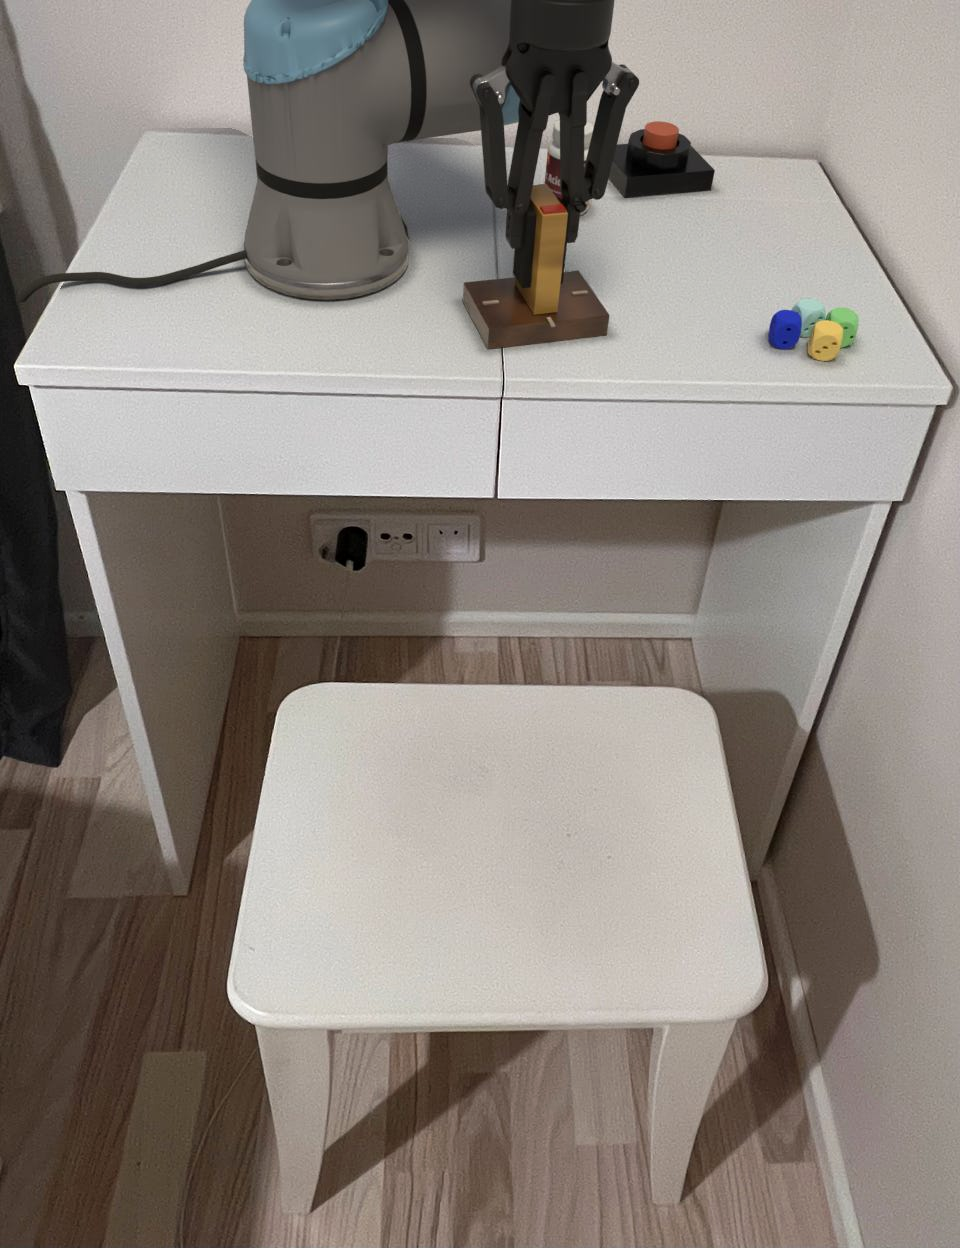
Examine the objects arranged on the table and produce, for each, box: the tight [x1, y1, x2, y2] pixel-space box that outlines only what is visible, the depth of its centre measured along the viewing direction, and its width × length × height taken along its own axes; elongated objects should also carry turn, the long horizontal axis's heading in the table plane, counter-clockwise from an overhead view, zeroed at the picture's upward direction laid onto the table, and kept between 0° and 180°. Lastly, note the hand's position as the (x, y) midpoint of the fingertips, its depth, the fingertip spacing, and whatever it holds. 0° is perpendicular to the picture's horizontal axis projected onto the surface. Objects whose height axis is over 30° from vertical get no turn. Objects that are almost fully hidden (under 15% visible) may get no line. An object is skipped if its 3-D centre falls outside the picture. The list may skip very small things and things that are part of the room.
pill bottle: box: [544, 119, 594, 216], centre depth 112 cm, size 5×5×8 cm
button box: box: [608, 128, 716, 199], centre depth 120 cm, size 10×8×4 cm
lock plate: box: [462, 270, 610, 350], centre depth 99 cm, size 11×10×2 cm
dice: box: [768, 298, 859, 362], centre depth 98 cm, size 8×3×6 cm
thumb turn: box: [514, 183, 568, 315], centre depth 95 cm, size 6×2×9 cm, turn 17°
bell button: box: [643, 120, 680, 150], centre depth 118 cm, size 4×4×2 cm
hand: (537, 277), depth 97 cm, fingers closed on thumb turn, 2 cm apart
